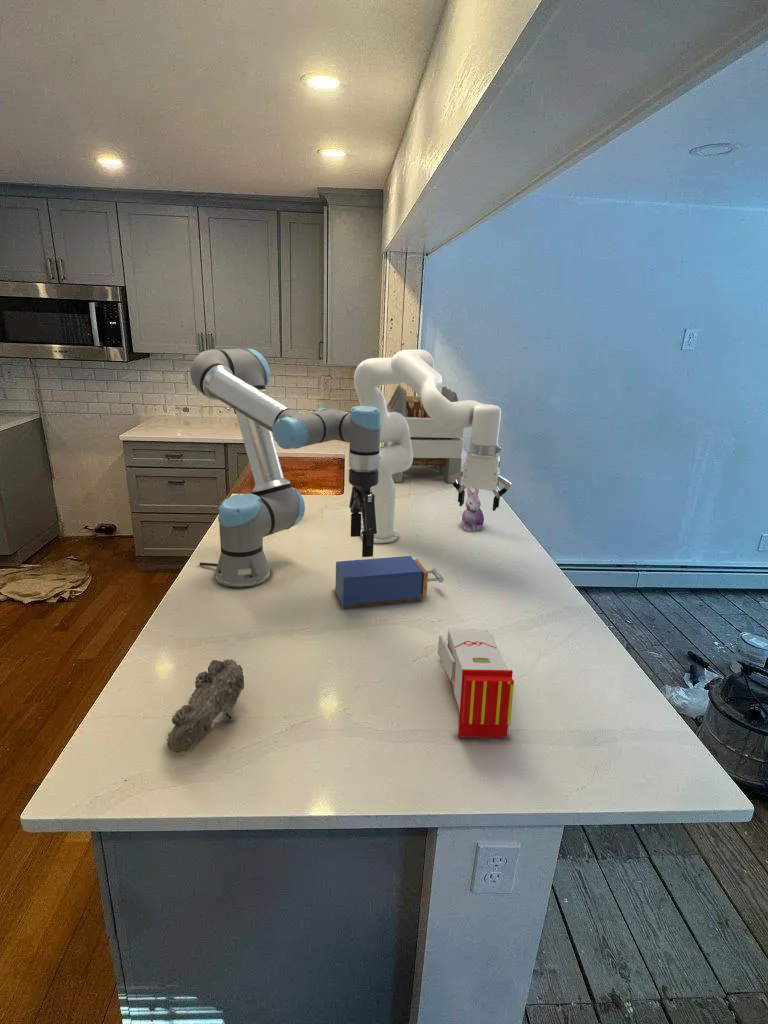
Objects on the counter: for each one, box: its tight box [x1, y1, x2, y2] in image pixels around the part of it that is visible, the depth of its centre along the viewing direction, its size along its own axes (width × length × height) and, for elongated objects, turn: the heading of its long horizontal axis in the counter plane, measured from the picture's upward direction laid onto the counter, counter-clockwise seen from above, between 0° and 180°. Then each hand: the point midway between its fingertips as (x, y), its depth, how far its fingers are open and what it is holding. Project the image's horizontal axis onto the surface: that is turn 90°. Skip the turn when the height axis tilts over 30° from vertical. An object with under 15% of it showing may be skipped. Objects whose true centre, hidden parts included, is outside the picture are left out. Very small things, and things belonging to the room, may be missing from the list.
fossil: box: [166, 658, 245, 754], centre depth 106 cm, size 22×10×15 cm
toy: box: [437, 628, 515, 738], centre depth 117 cm, size 12×13×30 cm
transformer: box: [383, 384, 465, 484], centre depth 268 cm, size 34×33×41 cm
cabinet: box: [334, 555, 423, 610], centre depth 155 cm, size 22×10×9 cm, turn 106°
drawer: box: [413, 558, 445, 597], centre depth 156 cm, size 26×9×7 cm, turn 106°
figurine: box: [460, 487, 485, 532], centre depth 206 cm, size 9×10×15 cm
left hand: (361, 545), depth 150 cm, fingers open, 13 cm apart
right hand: (477, 507), depth 164 cm, fingers open, 9 cm apart
